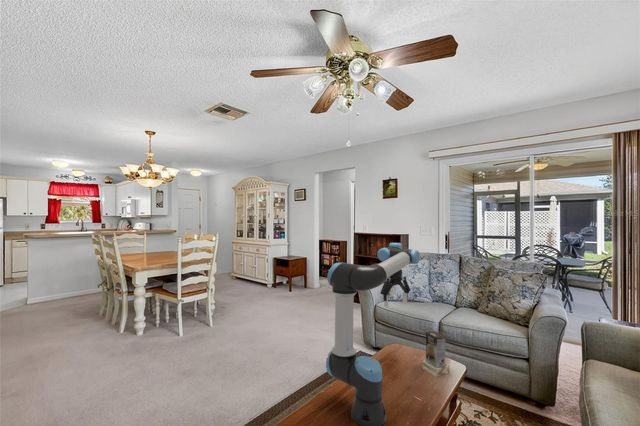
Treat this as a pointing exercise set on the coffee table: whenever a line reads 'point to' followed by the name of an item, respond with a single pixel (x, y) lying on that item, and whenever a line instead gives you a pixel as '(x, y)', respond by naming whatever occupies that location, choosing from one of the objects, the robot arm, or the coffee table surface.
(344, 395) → the coffee table surface
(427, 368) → the square framed mirror
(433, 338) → the coffee box
